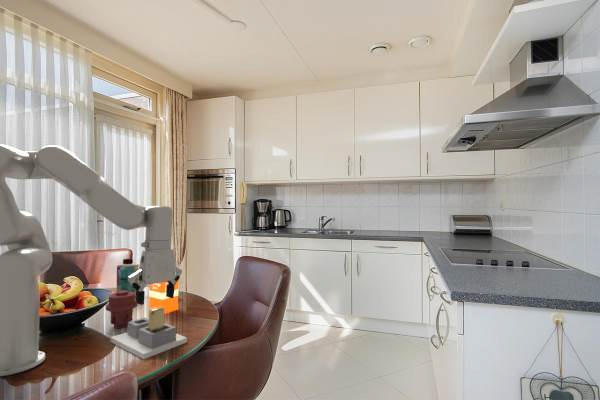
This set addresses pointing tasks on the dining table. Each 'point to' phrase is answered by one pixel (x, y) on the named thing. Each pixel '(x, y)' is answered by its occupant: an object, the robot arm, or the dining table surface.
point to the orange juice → (163, 297)
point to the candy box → (119, 273)
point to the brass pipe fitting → (156, 319)
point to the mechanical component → (121, 308)
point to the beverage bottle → (126, 276)
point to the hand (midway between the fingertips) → (155, 300)
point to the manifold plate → (147, 339)
